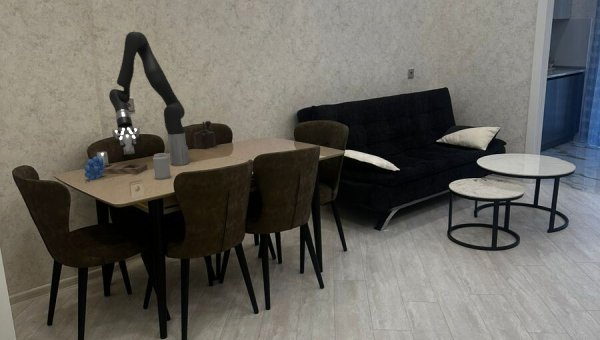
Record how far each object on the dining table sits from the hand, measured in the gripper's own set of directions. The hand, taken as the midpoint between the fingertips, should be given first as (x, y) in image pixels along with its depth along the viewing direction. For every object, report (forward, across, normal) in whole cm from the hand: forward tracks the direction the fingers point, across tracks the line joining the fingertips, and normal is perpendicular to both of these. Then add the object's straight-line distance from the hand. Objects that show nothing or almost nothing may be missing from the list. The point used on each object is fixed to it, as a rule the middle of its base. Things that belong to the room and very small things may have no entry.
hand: (128, 146), depth 263 cm
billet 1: (+2, -13, +17) cm, 22 cm away
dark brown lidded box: (-24, +52, +45) cm, 72 cm away
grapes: (+13, -18, +8) cm, 24 cm away
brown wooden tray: (+6, -6, +15) cm, 17 cm away
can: (+23, +13, -3) cm, 27 cm away
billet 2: (+2, 0, +4) cm, 5 cm away
